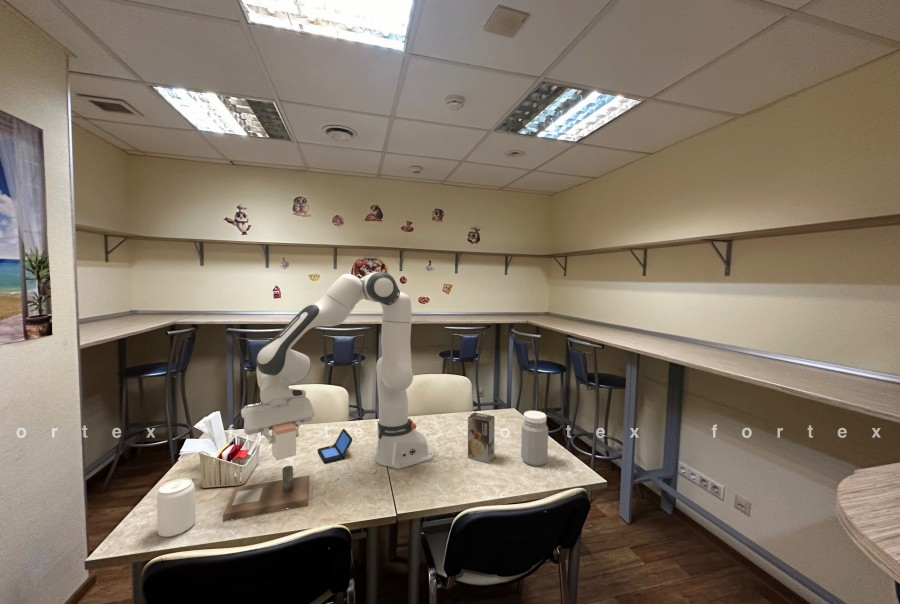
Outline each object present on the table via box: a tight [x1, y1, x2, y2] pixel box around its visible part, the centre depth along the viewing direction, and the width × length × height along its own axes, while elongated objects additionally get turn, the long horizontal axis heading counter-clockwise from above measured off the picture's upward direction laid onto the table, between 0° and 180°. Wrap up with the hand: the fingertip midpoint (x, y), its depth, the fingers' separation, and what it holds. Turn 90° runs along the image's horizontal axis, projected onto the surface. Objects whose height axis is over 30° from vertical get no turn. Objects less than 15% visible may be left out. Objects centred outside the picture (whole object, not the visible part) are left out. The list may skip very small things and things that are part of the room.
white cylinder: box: [156, 477, 196, 537], centre depth 96 cm, size 8×8×12 cm
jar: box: [520, 410, 549, 467], centre depth 134 cm, size 10×10×18 cm
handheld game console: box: [317, 428, 353, 465], centre depth 138 cm, size 12×11×7 cm
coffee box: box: [467, 412, 495, 464], centre depth 136 cm, size 9×6×16 cm
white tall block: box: [271, 422, 297, 462], centre depth 109 cm, size 6×6×9 cm
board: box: [222, 465, 310, 522], centre depth 109 cm, size 22×14×9 cm, turn 110°
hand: (284, 439), depth 109 cm, fingers closed on white tall block, 6 cm apart
